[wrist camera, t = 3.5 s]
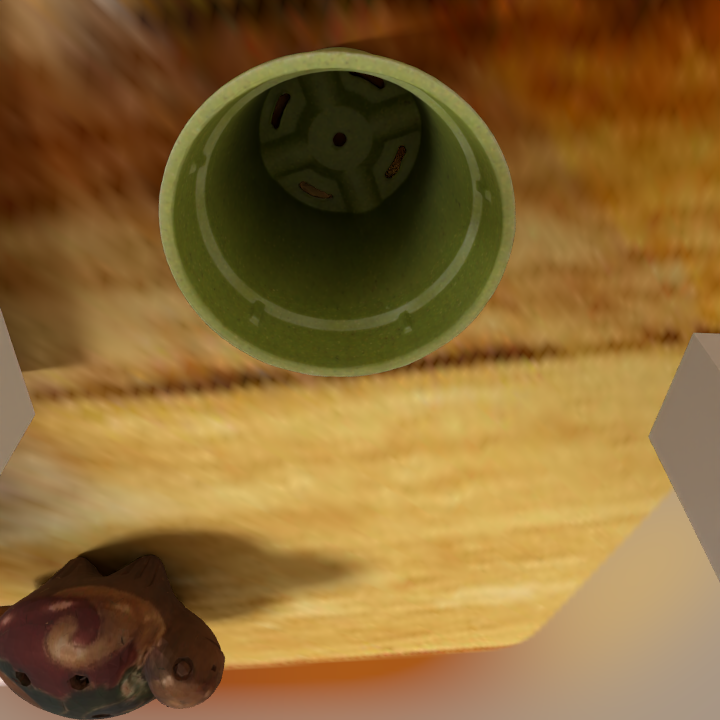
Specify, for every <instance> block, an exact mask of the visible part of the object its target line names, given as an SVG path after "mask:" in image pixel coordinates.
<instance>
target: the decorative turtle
mask: <svg viewBox="0 0 720 720" xmlns="http://www.w3.org/2000/svg"><path fill="white" fill-rule="evenodd" d="M224 662H225V656H224V654H223V652H222V651H221V648H220V645H219V643H218V641H217V639H216V637H215V635H214V634H213V632H212V631H211V629H210V628H209V627H208V626H207V625H206V624H205V623H204V621H203V620H201V619H200V618H199V617H198V616H196V615H195V614H193V613H192V612H191V611H189V610H188V609H187V608H185V606H184V605H183V604H182V603H181V602H180V601H178V599H177V598H176V597H175V595H174V593H173V591H172V589H171V586H170V583H169V581H168V577H167V574H166V571H165V568H164V566H163V563H162V562H161V560H160V559H159V558H158V557H156V556H154V555H147V556H143V557H141V558H138V559H137V560H135V561H134V562H132V563H130V564H129V565H127V566H125V567H124V568H122V569H120V570H119V571H117V572H115V573H113V574H111V575H109V576H105V577H104V576H102V575H101V574H100V573H99V572H98V570H97V569H96V568H95V567H94V566H93V564H92V563H91V562H90V561H88V560H87V559H85V558H83V557H77V558H75V559H72V560H70V561H69V562H68V563H67V564H66V565H65V566H64V567H63V568H62V569H60V570H59V571H58V572H57V573H56V574H55V575H54V576H53V577H52V578H51V579H49V580H48V581H47V582H46V583H45V584H44V585H42V586H41V587H40V588H38V589H37V590H35V591H34V592H32V593H31V594H29V595H28V596H26V597H25V598H23V599H22V600H20V601H18V602H17V603H16V604H14V605H11V606H0V677H1V678H2V680H3V681H4V682H5V684H6V685H7V686H8V687H9V688H10V689H11V690H12V691H13V692H14V693H15V694H17V695H18V696H19V697H21V698H22V699H23V700H25V701H27V702H29V703H30V704H32V705H34V706H36V707H38V708H40V709H43V710H46V711H48V712H51V713H54V714H57V715H60V716H64V717H68V718H73V719H79V720H93V719H104V718H110V717H114V716H119V715H123V714H126V713H129V712H131V711H133V710H135V709H138V708H140V707H142V706H144V705H145V704H147V703H149V702H151V701H152V700H154V699H158V700H159V701H160V702H161V703H162V704H164V705H166V706H167V707H172V708H178V709H183V708H189V707H193V706H195V705H198V704H200V703H202V702H204V701H205V700H206V699H208V698H209V697H210V696H211V695H212V694H213V692H214V691H215V690H216V688H217V686H218V685H219V683H220V681H221V678H222V674H223V669H224Z"/></svg>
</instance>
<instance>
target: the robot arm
mask: <svg viewBox="0 0 720 720" xmlns="http://www.w3.org/2000/svg"><path fill="white" fill-rule="evenodd" d="M34 416H35V412H34V409H33V406H32V403H31V400H30V397H29V394H28V391H27V388H26V385H25V382H24V378H23V375H22V372H21V369H20V366H19V363H18V360H17V357H16V354H15V351H14V348H13V345H12V342H11V339H10V336H9V333H8V330H7V327H6V324H5V321H4V318H3V315H2V312H1V309H0V475H1V473H2V471H3V470H4V468H5V466H6V464H7V463H8V461H9V459H10V457H11V456H12V454H13V452H14V450H15V449H16V447H17V445H18V443H19V442H20V440H21V438H22V436H23V435H24V433H25V431H26V429H27V428H28V426H29V424H30V422H31V421H32V419H33V417H34ZM648 437H649V439H650V441H651V443H652V445H653V447H654V449H655V451H656V453H657V455H658V457H659V459H660V461H661V463H662V465H663V467H664V469H665V471H666V473H667V476H668V478H669V480H670V482H671V484H672V486H673V488H674V490H675V492H676V494H677V496H678V498H679V500H680V502H681V504H682V506H683V508H684V510H685V512H686V514H687V516H688V518H689V520H690V522H691V524H692V526H693V528H694V530H695V533H696V534H697V537H698V539H699V541H700V543H701V545H702V546H703V549H704V551H705V553H706V555H707V557H708V559H709V561H710V563H711V565H712V567H713V569H714V571H715V573H716V575H717V577H718V579H719V581H720V334H710V333H693V335H692V337H691V339H690V342H689V344H688V346H687V349H686V351H685V353H684V356H683V358H682V360H681V362H680V365H679V367H678V369H677V372H676V374H675V376H674V379H673V381H672V383H671V386H670V388H669V390H668V392H667V395H666V397H665V399H664V402H663V404H662V406H661V409H660V411H659V413H658V416H657V418H656V420H655V423H654V425H653V427H652V429H651V432H650V434H649V436H648Z"/></svg>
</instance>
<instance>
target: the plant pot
mask: <svg viewBox="0 0 720 720" xmlns="http://www.w3.org/2000/svg"><path fill="white" fill-rule="evenodd" d="M349 71H353V72H359V73H364V74H369V75H372V76H376V77H379V78H382V80H383V81H384V84H385V86H384V88H382V89H379V88H378V87H376V86H375V85H373V84H372V83H370V82H369V81H367V80H365V79H364V78H361V77H359V76H353V75H351V74H350V73H349ZM285 93H287V94H290V99H289V101H288V103H287V105H286V107H285V109H284V111H283V113H282V117H281V119H280V123H279V127H278V128H277V129H275V128H274V126H273V125H272V124H271V120H272V115H273V112H274V110H275V106H276V102H277V101H278V99H279V97H280V96H281V95H284V94H285ZM337 133H343V134H344V135H345V136H346V138H347V139H346V142H345V144H344V145H343V146H336V145H334V143H333V137H334V136H335V135H336V134H337ZM402 145H404V148H405V149H406V153H405V155H404V157H403V159H402V161H401V164H400V168H399V170H398V171H397V173H396V174H395V175H394V176H393V177H392V178H386V176H385V173H386V171H387V170H388V169H389V167H390V165H391V164H392V162H393V160H394V158H395V156H396V154H397V151H398V147H399V146H402ZM301 181H305V182H307V183H308V184H309V185H312V186H313V187H315V188H317V189H319V190H321V191H325V192H326V194H331V195H332V198H331V197H330V198H326V199H325V198H318V197H314V196H311V195H309V194H308V193H306V192H304V191H303V190H302V189H301V188H300V186H299V184H300V182H301ZM159 225H160V234H161V240H162V244H163V249H164V253H165V255H166V259H167V262H168V265H169V267H170V270H171V273H172V275H173V277H174V279H175V281H176V283H177V285H178V287H179V288H180V290H181V291H182V293H183V295H184V296H185V298H186V300H187V301H188V303H189V304H190V305H191V307H192V308H193V309H194V310H195V312H196V313H197V314H198V315H199V316H200V317H201V319H202V320H203V321H204V322H205V323H206V324H207V325H208V326H209V327H210V328H211V329H212V330H213V331H215V332H216V333H217V334H218V335H219V336H221V337H222V338H223V339H225V340H226V341H227V342H229V343H230V344H232V345H233V346H235V347H236V348H238V349H239V350H241V351H243V352H245V353H247V354H248V355H250V356H252V357H254V358H256V359H258V360H260V361H262V362H264V363H267V364H270V365H273V366H276V367H279V368H283V369H287V370H290V371H294V372H299V373H302V374H308V375H315V376H325V377H327V376H336V377H341V376H348V377H352V376H363V375H370V374H375V373H381V372H385V371H389V370H392V369H395V368H399V367H402V366H405V365H408V364H410V363H412V362H414V361H416V360H419V359H421V358H423V357H424V356H426V355H428V354H430V353H431V352H433V351H435V350H436V349H438V348H440V347H441V346H443V345H445V344H446V343H448V342H449V341H450V340H452V339H453V338H454V337H456V336H457V335H458V334H460V333H461V332H462V331H463V330H464V329H465V328H466V327H467V326H468V325H469V324H470V323H471V322H472V321H473V320H474V319H475V318H476V317H477V316H478V314H479V313H480V312H481V311H482V309H483V308H484V306H485V305H486V303H487V302H488V300H489V299H490V298H491V296H492V295H493V293H494V292H495V290H496V288H497V286H498V284H499V282H500V280H501V278H502V276H503V273H504V271H505V268H506V265H507V262H508V260H509V257H510V254H511V249H512V245H513V241H514V235H515V226H516V218H515V198H514V191H513V185H512V180H511V176H510V171H509V168H508V166H507V162H506V160H505V157H504V155H503V153H502V151H501V149H500V147H499V145H498V143H497V141H496V139H495V137H494V135H493V134H492V132H491V131H490V130H489V128H488V126H487V125H486V124H485V122H484V121H483V120H482V118H481V117H480V116H479V115H478V114H477V113H476V112H475V110H474V109H473V108H472V107H471V106H470V105H469V104H468V103H467V102H466V101H465V100H463V99H462V98H461V97H460V96H459V95H458V94H457V93H456V92H454V91H453V90H452V89H450V88H449V87H448V86H446V85H445V84H444V83H442V82H441V81H439V80H438V79H437V78H435V77H433V76H431V75H429V74H427V73H426V72H424V71H422V70H420V69H418V68H416V67H413V66H411V65H408V64H405V63H403V62H400V61H397V60H394V59H390V58H386V57H383V56H379V55H373V54H370V53H368V52H365V51H362V50H358V49H353V48H346V47H331V48H325V49H320V50H316V51H312V52H304V53H298V54H293V55H288V56H284V57H280V58H277V59H274V60H271V61H268V62H265V63H263V64H260V65H258V66H256V67H253V68H251V69H249V70H248V71H246V72H244V73H242V74H240V75H239V76H237V77H235V78H234V79H232V80H231V81H229V82H228V83H226V84H225V85H224V86H222V87H221V88H220V89H218V90H217V91H216V92H215V93H214V94H213V95H212V96H210V97H209V98H208V99H207V100H206V101H205V102H204V103H203V104H202V105H201V106H200V108H199V109H198V110H197V111H196V112H195V113H194V114H193V116H192V117H191V118H190V120H189V121H188V122H187V124H186V125H185V127H184V128H183V130H182V132H181V133H180V135H179V137H178V139H177V140H176V142H175V144H174V147H173V149H172V151H171V153H170V156H169V159H168V161H167V164H166V167H165V171H164V175H163V179H162V183H161V188H160V196H159Z"/></svg>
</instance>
